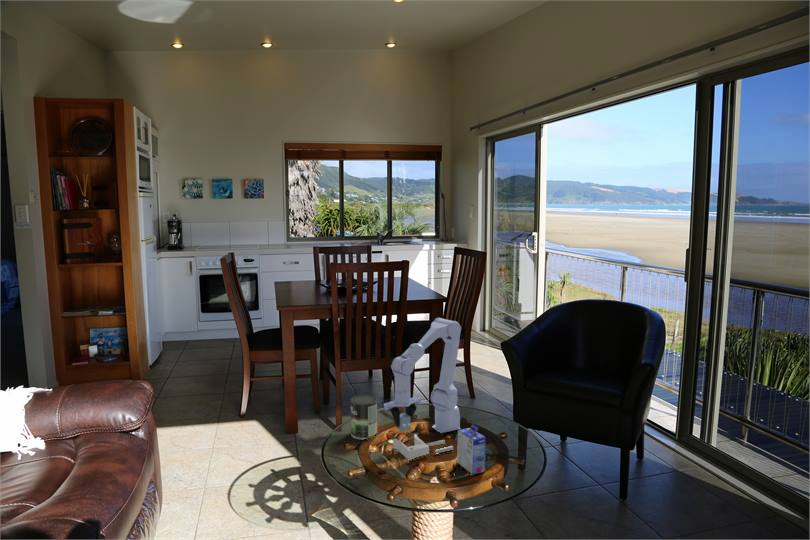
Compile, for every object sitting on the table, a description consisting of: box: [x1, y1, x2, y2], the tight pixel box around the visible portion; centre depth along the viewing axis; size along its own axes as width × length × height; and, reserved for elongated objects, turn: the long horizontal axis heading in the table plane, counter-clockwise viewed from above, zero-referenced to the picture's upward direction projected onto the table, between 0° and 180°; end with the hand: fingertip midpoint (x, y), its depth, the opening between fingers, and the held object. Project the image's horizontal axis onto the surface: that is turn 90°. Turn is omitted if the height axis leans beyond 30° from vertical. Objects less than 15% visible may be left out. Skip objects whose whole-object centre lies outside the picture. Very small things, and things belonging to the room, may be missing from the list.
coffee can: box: [349, 394, 378, 441], centre depth 222 cm, size 10×10×14 cm
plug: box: [395, 412, 412, 432], centre depth 211 cm, size 4×5×5 cm
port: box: [392, 434, 430, 461], centre depth 206 cm, size 10×11×4 cm
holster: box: [426, 439, 454, 453], centre depth 208 cm, size 7×7×2 cm
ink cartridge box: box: [456, 424, 487, 475], centre depth 194 cm, size 10×6×14 cm, turn 27°
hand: (403, 425), depth 212 cm, fingers closed on plug, 4 cm apart
